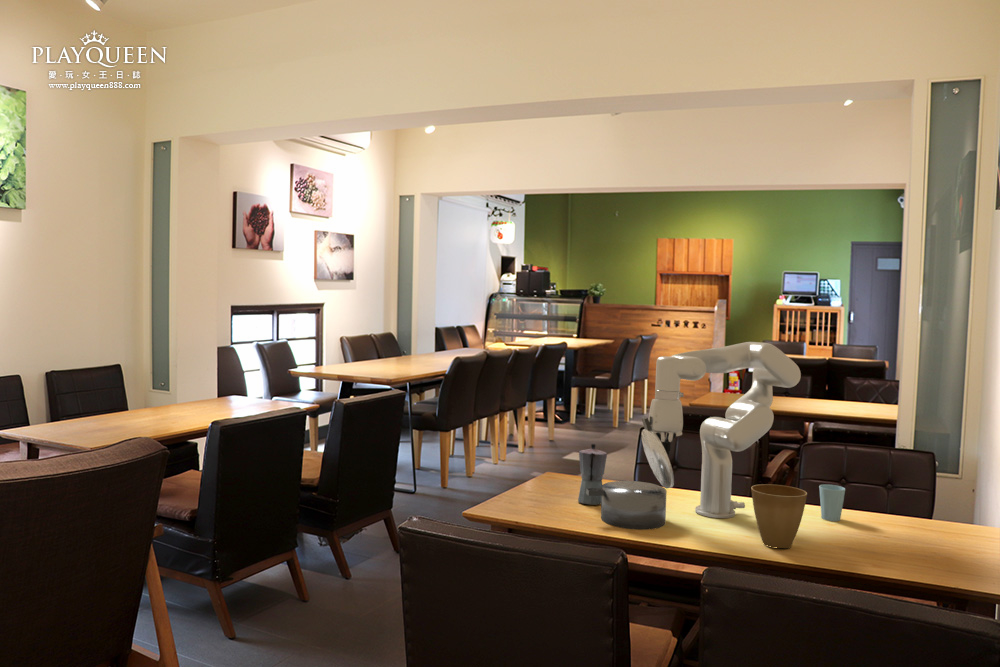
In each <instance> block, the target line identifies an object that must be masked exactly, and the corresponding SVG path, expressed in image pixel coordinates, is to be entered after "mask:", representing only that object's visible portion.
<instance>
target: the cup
mask: <svg viewBox="0 0 1000 667" xmlns="http://www.w3.org/2000/svg"><path fill="white" fill-rule="evenodd" d="M818 488H819V499H820V503H819V504H820V513H821V514H820V515H821V519H822V520H825V521H828V520H829V522H840V521H841V518H842V510H843V507H844V506H843V505H844V499H845V493H846V488H845V487H843V486H841V485H840V486H839V485H835V484H819V486H818Z"/></svg>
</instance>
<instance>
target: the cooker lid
mask: <svg viewBox="0 0 1000 667" xmlns="http://www.w3.org/2000/svg"><path fill="white" fill-rule="evenodd" d="M648 419H649V417H646V416H642V417H641V421H642V425H643V427H644V429H642V430H641V442H642V446H643V451H644V454H645V456H646V459H647V462H648V464H649V466H650V469H651V471H652V473H653V475H654V477H655V478H656V479H657V481H658V482H659V483H660V486H661V487H663V488H665V489H670V488H673V487H674V485H675V477H674V471H673V468H672V464H671V461H670V458H669V456H668V455H667V453H666V451H665V448H664V446H663V444H662V443H661V441H660V439H659V438H658V436H657V435H656V433H655V432H654V431H653V430H652V429H651V426H650V423H649V420H648Z"/></svg>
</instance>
